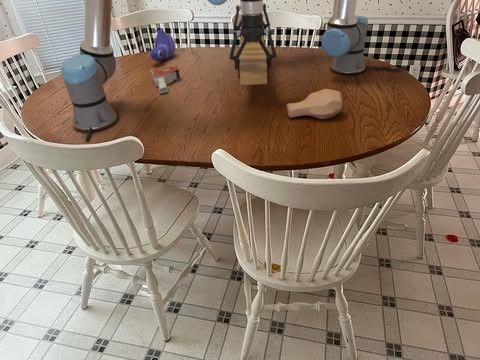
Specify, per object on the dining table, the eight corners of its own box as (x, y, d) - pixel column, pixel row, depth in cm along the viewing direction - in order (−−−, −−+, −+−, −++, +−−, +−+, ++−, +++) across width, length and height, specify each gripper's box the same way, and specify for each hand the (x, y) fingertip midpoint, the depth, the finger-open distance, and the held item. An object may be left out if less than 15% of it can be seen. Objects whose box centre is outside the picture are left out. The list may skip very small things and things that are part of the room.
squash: (346, 119, 125) (347, 98, 118) (290, 129, 126) (288, 109, 120) (339, 102, 132) (339, 81, 126) (285, 111, 134) (283, 91, 128)
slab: (267, 83, 130) (267, 65, 126) (240, 85, 131) (239, 66, 127) (262, 40, 177) (261, 25, 173) (242, 41, 177) (241, 26, 173)
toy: (163, 61, 202) (144, 66, 180) (159, 29, 195) (138, 31, 173) (180, 60, 200) (162, 66, 177) (176, 28, 193) (156, 29, 171)
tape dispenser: (164, 98, 152) (192, 79, 164) (161, 86, 148) (191, 68, 161) (134, 89, 159) (163, 72, 172) (131, 78, 156) (161, 61, 168)
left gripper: (283, 10, 125) (282, 72, 138) (220, 12, 126) (224, 74, 139) (285, 14, 119) (283, 79, 132) (218, 17, 119) (223, 81, 133)
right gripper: (275, -12, 161) (275, 39, 174) (225, -9, 162) (229, 42, 175) (276, -9, 155) (276, 43, 168) (224, -6, 156) (228, 46, 169)
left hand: (253, 76), depth 135 cm, fingers closed on slab, 10 cm apart
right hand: (252, 42), depth 172 cm, fingers closed on slab, 10 cm apart
